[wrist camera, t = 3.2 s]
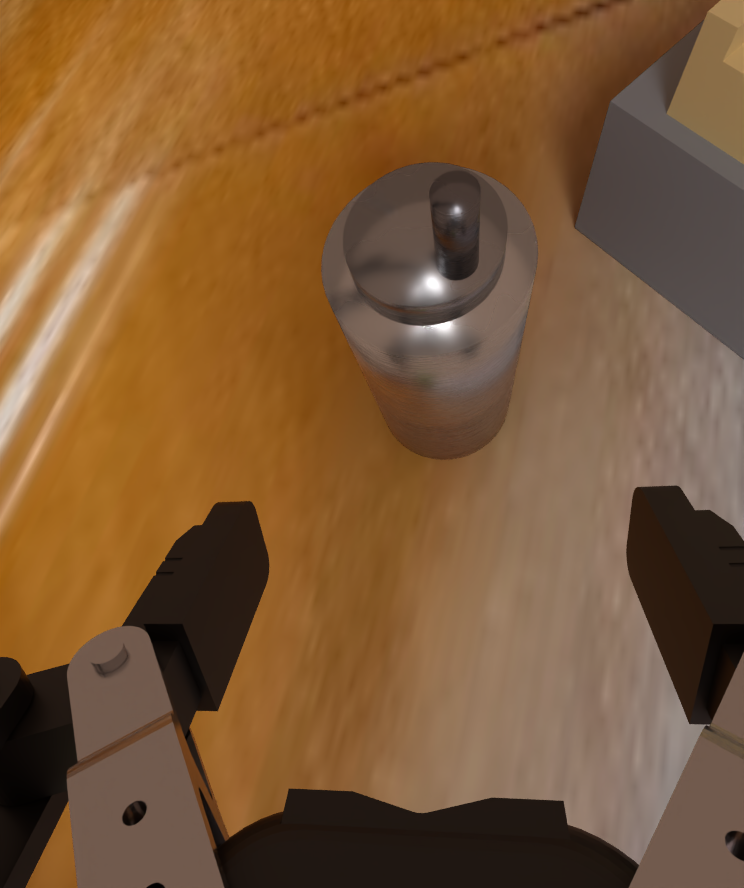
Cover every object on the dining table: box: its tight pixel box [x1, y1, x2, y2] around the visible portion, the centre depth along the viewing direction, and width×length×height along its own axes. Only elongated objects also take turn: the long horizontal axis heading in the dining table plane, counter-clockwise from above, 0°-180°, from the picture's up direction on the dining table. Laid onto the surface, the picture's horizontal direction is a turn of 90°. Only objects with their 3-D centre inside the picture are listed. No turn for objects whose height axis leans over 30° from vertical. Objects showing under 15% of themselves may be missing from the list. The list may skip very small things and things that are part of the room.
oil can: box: [321, 162, 538, 460], centre depth 18 cm, size 6×6×14 cm
